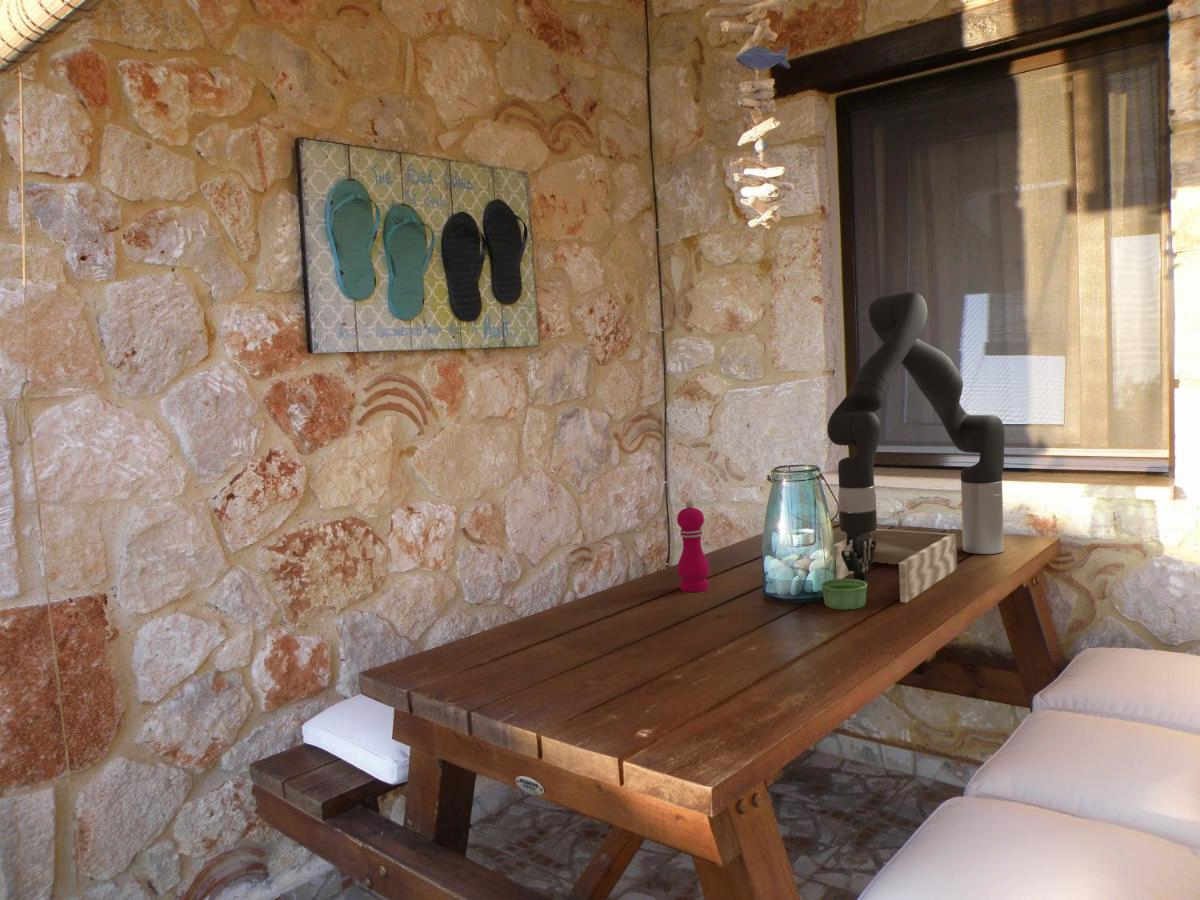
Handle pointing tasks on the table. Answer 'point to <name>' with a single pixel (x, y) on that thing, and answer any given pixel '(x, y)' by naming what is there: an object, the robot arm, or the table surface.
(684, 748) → the table surface
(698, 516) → the pepper mill
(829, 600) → the ramekin
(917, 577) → the wooden c-shaped frame
